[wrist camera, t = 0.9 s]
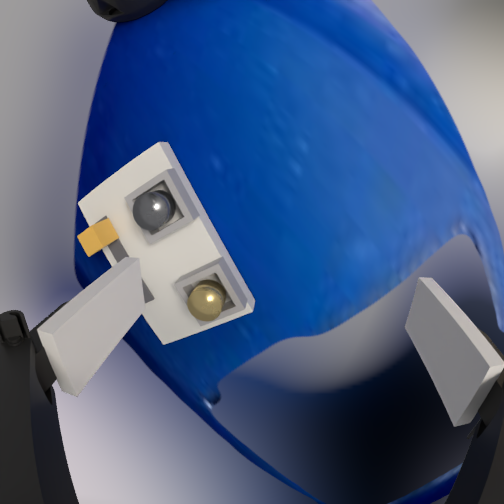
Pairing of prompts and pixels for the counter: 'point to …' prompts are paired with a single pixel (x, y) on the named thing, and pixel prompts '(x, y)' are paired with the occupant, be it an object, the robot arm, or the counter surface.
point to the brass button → (207, 300)
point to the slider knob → (98, 236)
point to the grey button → (153, 209)
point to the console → (167, 244)
